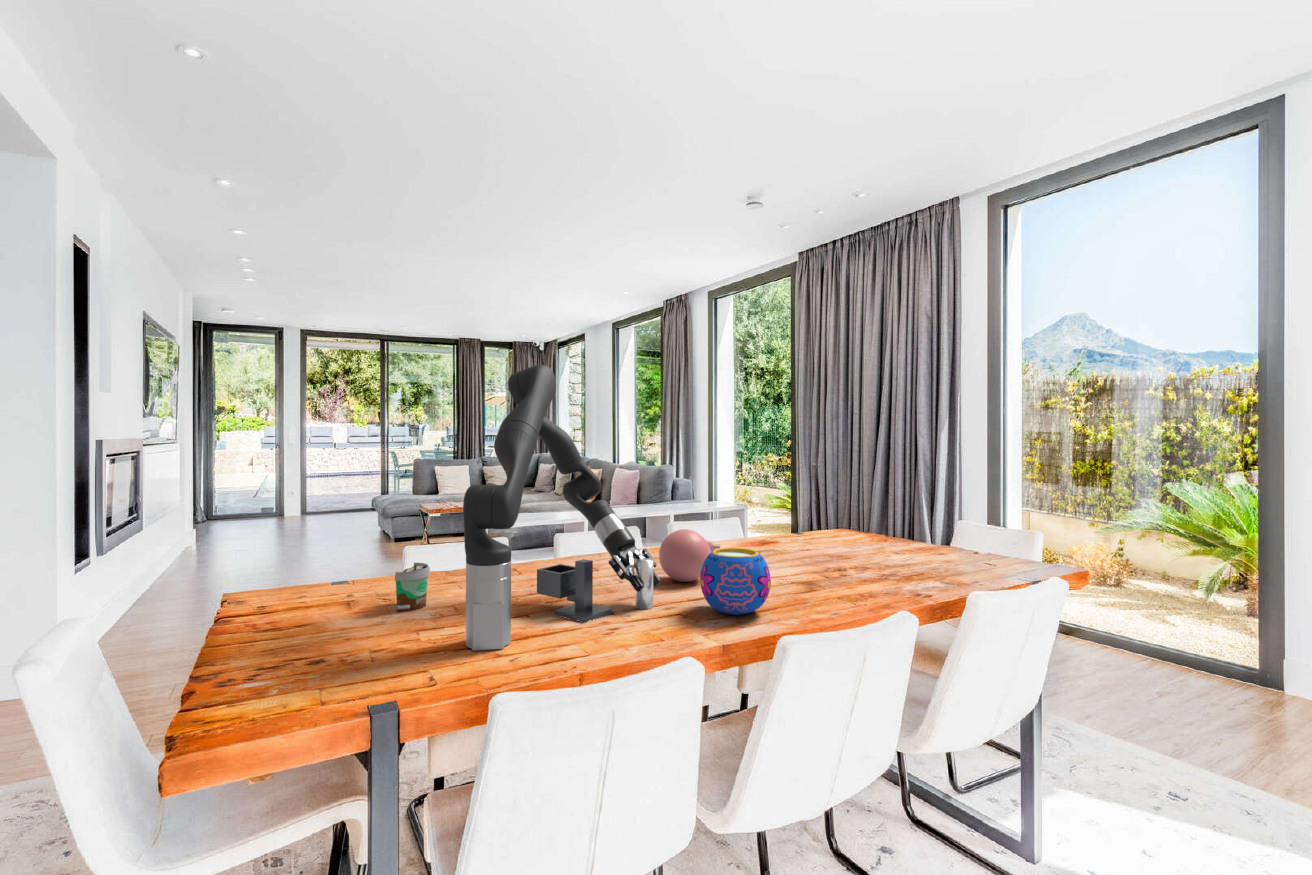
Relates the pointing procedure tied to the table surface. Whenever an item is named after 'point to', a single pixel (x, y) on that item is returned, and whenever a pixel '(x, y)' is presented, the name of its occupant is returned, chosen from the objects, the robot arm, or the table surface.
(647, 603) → the silver metal cylinder
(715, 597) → the ceramic pot
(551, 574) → the cup bracket
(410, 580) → the food container
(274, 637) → the table surface
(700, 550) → the balloon
